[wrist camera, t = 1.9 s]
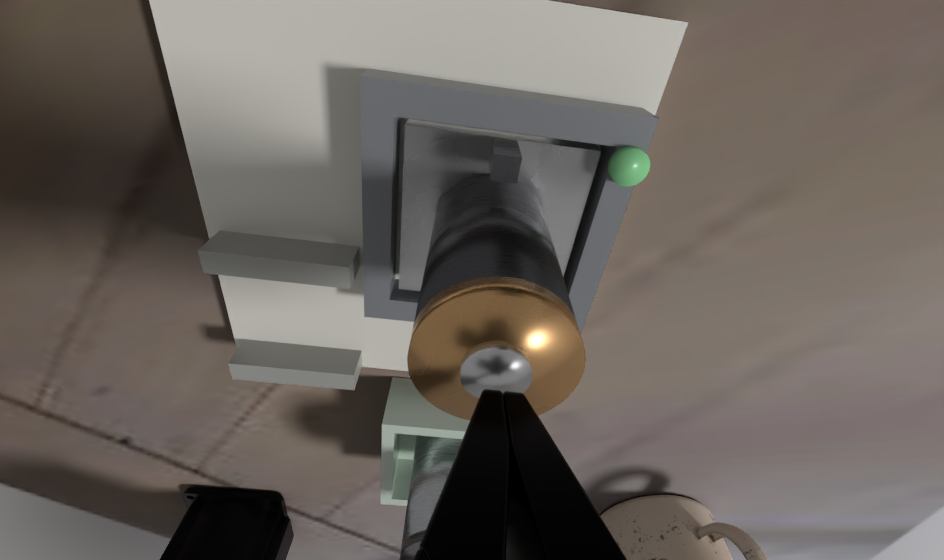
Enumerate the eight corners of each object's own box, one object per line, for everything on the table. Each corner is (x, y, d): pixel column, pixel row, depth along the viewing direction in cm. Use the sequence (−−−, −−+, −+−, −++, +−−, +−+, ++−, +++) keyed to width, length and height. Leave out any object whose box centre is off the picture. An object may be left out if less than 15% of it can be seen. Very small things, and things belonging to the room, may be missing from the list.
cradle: (401, 278, 17) (391, 317, 15) (408, 118, 14) (396, 140, 12) (551, 294, 18) (561, 335, 16) (595, 144, 14) (617, 169, 12)
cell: (430, 266, 16) (401, 425, 10) (439, 166, 14) (409, 294, 8) (531, 278, 16) (562, 440, 10) (557, 182, 14) (613, 317, 8)
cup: (389, 456, 26) (380, 504, 24) (392, 376, 22) (381, 424, 20) (502, 465, 27) (505, 513, 24) (524, 389, 23) (530, 437, 20)
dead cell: (415, 450, 25) (396, 591, 19) (419, 406, 23) (399, 550, 17) (481, 455, 25) (482, 596, 19) (491, 413, 23) (497, 557, 17)
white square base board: (245, 343, 21) (218, 384, 19) (151, -62, 12) (77, -77, 10) (555, 374, 22) (565, 416, 20) (677, 21, 13) (719, 25, 11)
